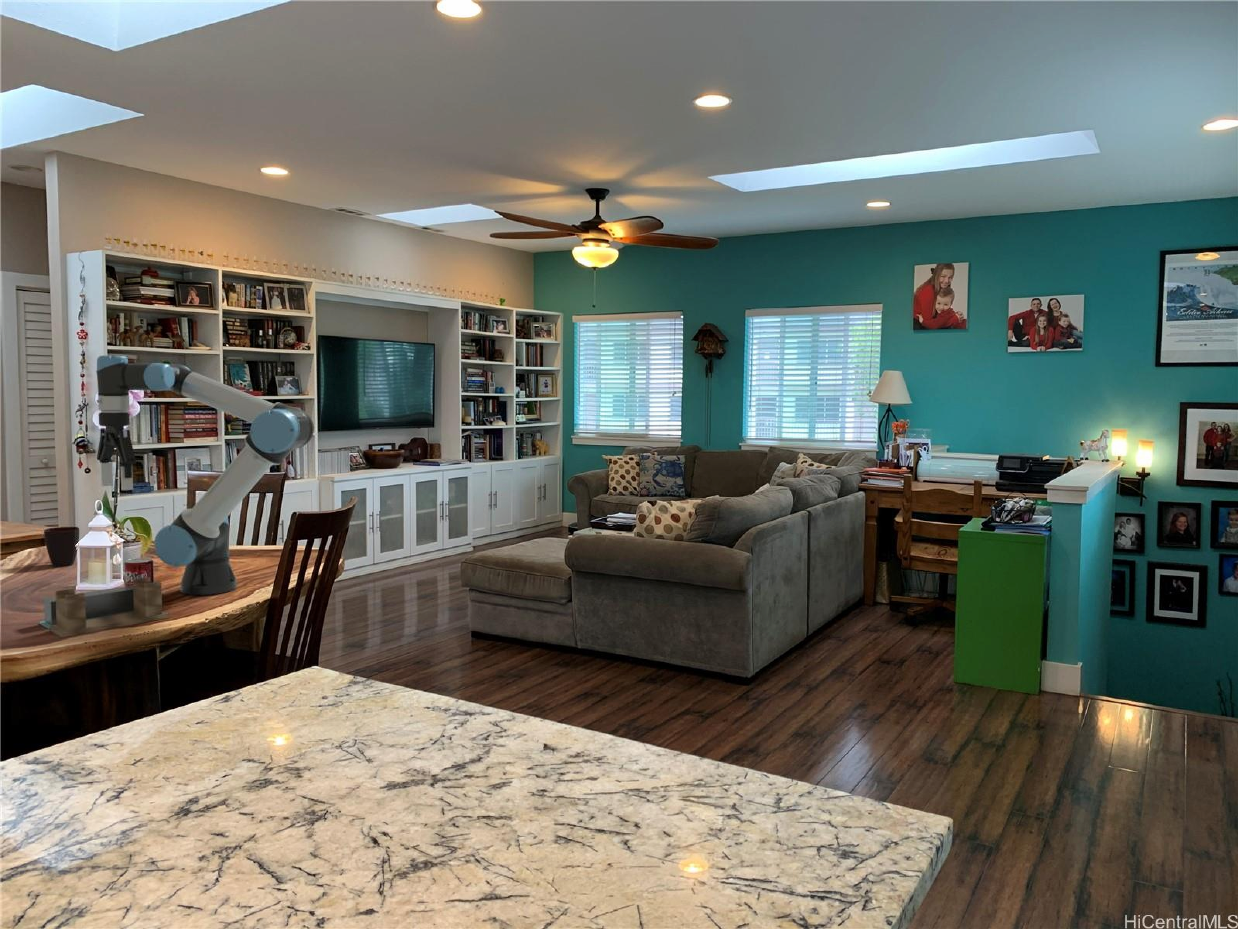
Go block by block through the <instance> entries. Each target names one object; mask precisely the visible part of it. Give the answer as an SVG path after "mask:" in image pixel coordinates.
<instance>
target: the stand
mask: <svg viewBox="0 0 1238 929" xmlns="http://www.w3.org/2000/svg"><path fill="white" fill-rule="evenodd" d="M75 590H76V589H75V588H66V589H60V590H59V589H58V590H55V592H54V593H55V597H56V618H57V625H53V626H49V632H51V633H53V634H55V635H56V636H58V637H60V638H64V637H71V636H77V635H82V634H87V633H94V632H98V631H99V632H100V631H105V630H109V629H110V630H111V629H115V628H120V627H127V626H133V625H139V624H143V623H144V624H145V623H147V622H148V623H149V622H154V621H160V620H164V619H169V618H170V613H168V612H166V611H164V610H163V598H162V597H163V596H162V595H163V594H162V591H163V590H162V581H161V580H158V581H154V582H151V583H150V577H147V578H140V579H134V580H133V594H134V612H128V613H123V614H117V615H111V616H105V617H99V618H93V619H88V620H86V615H85V592H80V593H76V592H75Z"/></svg>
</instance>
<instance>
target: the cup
mask: <svg viewBox="0 0 1238 929" xmlns="http://www.w3.org/2000/svg"><path fill="white" fill-rule="evenodd" d="M43 534H44V535H43V536H44V537H43V538H44V543H45V546H46V550H47V554H48V558H49V561H50V563H51V566H53V567H58V568H59V567H69V566H73V565H74V563H75V561H76V558H77V554H78V549H77V550H76V547H75V545H76V544H77V543H78V542H80V528H79V527H78V526H61V527H60V526H59V527H51V528H50V527H49V528H46V529H44V530H43ZM78 544H79V543H78Z"/></svg>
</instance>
